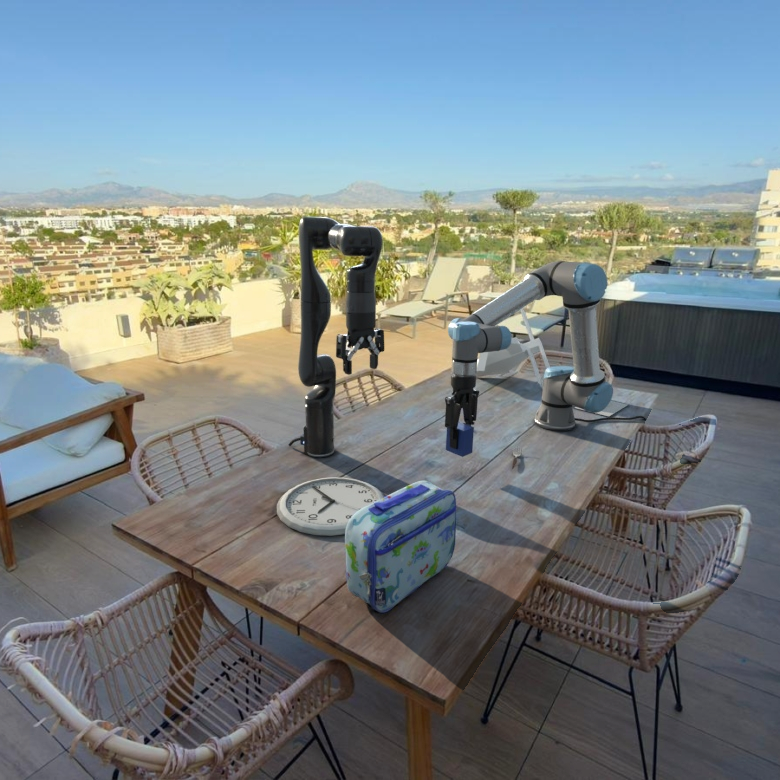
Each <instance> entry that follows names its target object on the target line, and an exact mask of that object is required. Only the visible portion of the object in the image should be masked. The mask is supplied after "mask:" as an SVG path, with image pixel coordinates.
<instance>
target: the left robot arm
mask: <svg viewBox="0 0 780 780" xmlns="http://www.w3.org/2000/svg"><path fill="white" fill-rule="evenodd" d="M298 223H299V224H298V248H299V262H300V343H299V354H298V365H297V367H298V370H297V371H298V377H299V380H300V382H301V384H302V385H303V386H305V387H308V388H310V387H313V388H312V389H311V390H310V391H309V392H308V393H307V394H306V395H305V396H304V413H305V414H304V415H305V416H304V417H305V425H304V426H303V429H302V430H303V434H302V435H300V437H295V438H294V439H292V440H291V441H290V442H289V443H288V446H289V447H292V446H293V444H294V443H296V442H299V441H300V446H303V453H304V454H305V455H308V456H309V457H312V458H327V457H329V456H332V455H333V454H335V440H336V436H335V424H334V423H335V421H334V419H335V418H334V413H335V412H334V399H335V396H336V392H337V391H336V387H337V367H336V363H335V361H334V359H333V357H331V356H330V354H329V355H328V354H319V355H318V350H319V349H318V348H319V344H320V341H321V338H322V336H323V335H324V333H325V331H326V328H327V327H328V324H329V322H330V319H331V316H332V315H331V313H332V295H331V292H330V291H331V290H330V289H329V288H328V286H327V284H326V281H324V279H323V278H322V275H321V274H320V273H319V270H318V269H317V266H316V263H315V259H314V251H328V250H333V249H334V250H335V251H336V252H337V251H338V252H341V254H342V255H343V256H345V257H364V258H363V260H362V262H361V263H360V264H358V265H354V266H351V267H349V268H348V269H347V270H346V295H345V326H346V329H347V332H346V334H340V333H338V334H337V335H336V339H335V340H336V343H335V357H336V358H337V359H341V360H342V371H343V372H344V374H346V375H348V376H350V375H352V374H353V370H352V369H353V361H352V358H353V357H354V355H355V354H357V352H358V351H361V350H363V349H365V350H366V349H367V350H368V351H369V353H370V354H369V368H370V369H371V370H376V369H378V366H379V355H380V353H383V352H385V331H384V329H381V328H376V326H377V323H376V322H377V320H376V319H377V299H376V272H377V267H378V264H379V261H380V260H379V259H380V256H381V254H382V249H383V243H384V242H383V240H384V239H383V235H382V233H381V231H380V230H379V229H378V227H376V226H359V225H358V226H354V225H351V224H345V223H339V222H338V221H337V220H335V219H333V218H330V217H322V216H302V217H301V218H300V221H299V222H298Z"/></svg>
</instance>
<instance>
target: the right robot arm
mask: <svg viewBox="0 0 780 780" xmlns="http://www.w3.org/2000/svg"><path fill="white" fill-rule="evenodd" d="M607 288H608V276H607V274H606V271H605V270H604V268H603V267H601V266H600V265H599V264H596V263H590V262H588V261H587V262H586V261H585V262H580V261H579V262H578V261H566V260H557V261H552V262H548V263H547V264H544V265H542V266H540V267H538V268H536V269H534V270H533V271H531V272H529V273H528V274H526V275H525V276H524V277H523V279H522V281H521V282H520V283H518V284H516V285H515V286H513V287H511V288H510V289H508V290H507V291H505V292H504V293H503V294H501V295H499V296H498V297H496V298H495V299H493V300H492V301H490V302H488V303H487V304H485V305H483V306H482V307H481V308H479V309H477V310H476V311H475V312H473V313H471V314H470V315H468V316H466V317H465V318H462V317H457V318H454V319H452V320H451V321H450V322H449V324H448V326H447V334H448V337H449V338H450V339H451V340H452V348H451V350H452V351H451V374H450V386H451V388H452V391H451V395H450V396H445V397H444V402H445V415H444V416H445V417H444V427H445V428H446V429H447V428H449V429H450V434H449V437H450V447H451V448H454V449H458V437H459V429H457V426H458V422H460V417H461V412H462V413H463V422H462V423H463V424H466V425H469V426H474V425H475V424H476V423H475V422H476V421H477V415H478V399H479V396H480V390H477V389H475V388H476V385H477V377H476V375H475V374H476V373H477V359H479V354H480V353H484V352H492V351H500V350H504V349H507V348H508V347H509V346H510V344H511V340H512V339H511V338H513V337H512V332H511V331H510V329H509V327H507V326H506V325H499V324H501V323H502V322H503V321H505V320H507V319H508V318H509V317H511V316H512V315H514V314H515V313H517V312H519V311H520V309H522V308H523V309H524V308H525V307H526V306H528V305H529V304H531V303H532V302H534V301H540V300H542V299H543V298H546V297H549V296H557V297H561V298H562V305H563V307H564V308H565V309H566V310H567V311H568V319H569V330H570V343H571V353H572V365H573V366H567V365H557V366H550V367H549V368H547V369H546V368H545V371H544V375H543V378H542V379H543V380H542V382H543V389H542V392H541V402H540V405H539V407H538V409H537V410H536V413H535V416H534V424H535V425H536V426H537V427H539V428H542V429H544V430H549V431H556V432H567V431H572V430H574V429H575V428H576V421H577V422H583V423H595V422H600V421H611V420H612V421H614V420H616V421H632V420H636V419H643V420H644V421H647V418H646V417H645V416H643V415H636V416H632V417H601V418H600V417H599V418H595V419H585V418H584V419H583V418H577V417H576V416H575V413H574V407H578V408H581V409H584V410H585V411H584V410H583V411H584V412H588V411H590V412H589V413H592V412H593V414H596V413H598V412H600V411H602V410H604V409H605V408H606V407H607V406H608V404H609V402H610V401H612V399H613V396H614V386H613V385H612V384H611V383H610V382H608V381H606V374H605V372H604V371H603V370H602V369H601V367H600V352H599V339H598V338H599V336H598V335H599V334H598V322H597V306H598V305H599V304H600V302H601V299H602V298H603V297H604V295H605V294H606V290H607Z"/></svg>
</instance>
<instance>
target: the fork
mask: <svg viewBox="0 0 780 780" xmlns="http://www.w3.org/2000/svg"><path fill="white" fill-rule="evenodd" d="M522 451H523V447H519V446H516V445H515V447H514V449H513V453H512V455H513V456H514V458H513V460H512V467H511V470H513V469H514V468H515V466H516V465H517V462H518V461H517V460H518V458H519V457H521V456H522Z"/></svg>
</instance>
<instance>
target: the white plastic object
mask: <svg viewBox="0 0 780 780" xmlns="http://www.w3.org/2000/svg"><path fill="white" fill-rule="evenodd" d="M519 311H520V314H521V316H522V320H523V323H524V326H525V329H526V331H527V335H528V338H529V341H527V342H524V343H522V342H520V341H519V338H518V337H516V336H514V337H512V338H511V339H512V340H511V344H510V346H509V347H508V348H507V349H504V350H500V351H492V352H484V353H479V355H478V359H477V373H476V374H475V375H476V378H477V377H488V376H495V375H500V376H505V375H507V374H509V373H511V370H513V369H514V368H515V367H517V366H518V365H519V364H521V363H523V362H524V361H526V360H527V359H528V357H529V360H530V363H531V366H532V369H533V372H534V375H535V379H536V382H537V383H538V385H539V386H540V388H541V389H542V390H543V380H542V379H543V378H542V377H541V373H540V371H539V367H538V364H537V362H536V359H535V355H534V354H537V353H540V354H541V357H542V360H543V363H544V366H545V370H546V369H547V368H549V367H551V365H550V363H549V360H548V356H547V354H546V352H545V351H546V350H545V348H544V346H543V342H542V341H541V339H540V337H537V338H535V337H534V334H533V330H532V328H531V325H530V323H529V319H528V316H527V313H526V311H525V309H524V307H523V308H522V309H520V310H519Z"/></svg>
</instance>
